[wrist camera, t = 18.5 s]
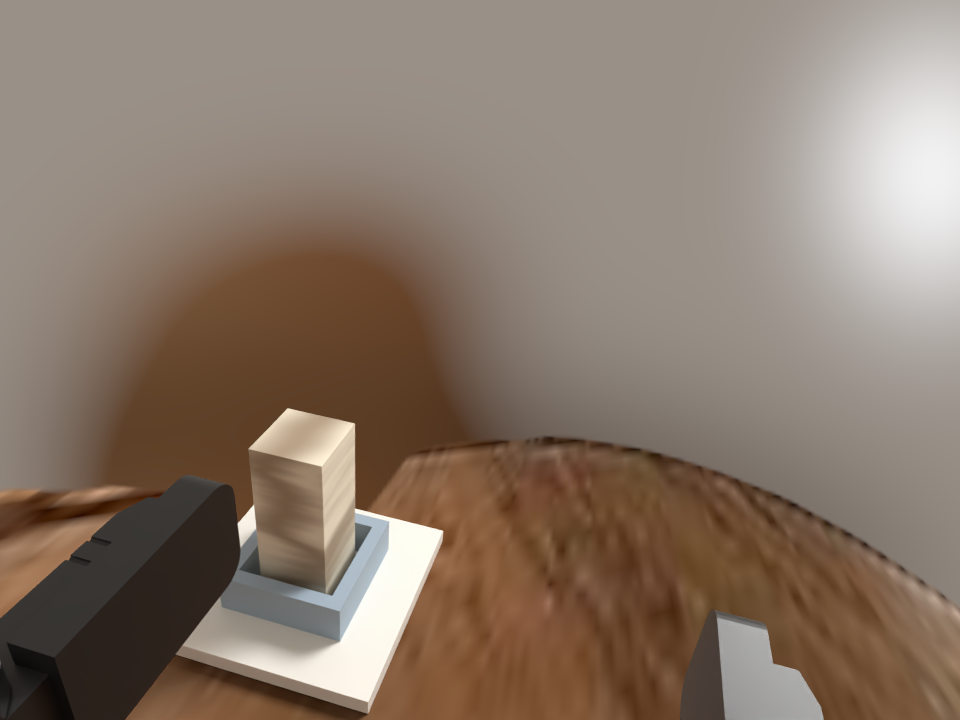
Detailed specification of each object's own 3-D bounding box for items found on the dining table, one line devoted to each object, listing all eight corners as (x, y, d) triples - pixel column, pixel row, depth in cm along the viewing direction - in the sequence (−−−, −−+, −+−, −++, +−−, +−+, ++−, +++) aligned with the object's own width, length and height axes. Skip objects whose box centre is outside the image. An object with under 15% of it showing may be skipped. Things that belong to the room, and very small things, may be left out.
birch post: (355, 561, 51) (354, 423, 45) (326, 611, 47) (321, 466, 41) (296, 546, 52) (287, 408, 46) (262, 593, 48) (248, 448, 42)
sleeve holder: (442, 541, 56) (445, 503, 54) (368, 714, 42) (368, 671, 40) (269, 497, 58) (266, 459, 56) (147, 645, 45) (137, 602, 43)
